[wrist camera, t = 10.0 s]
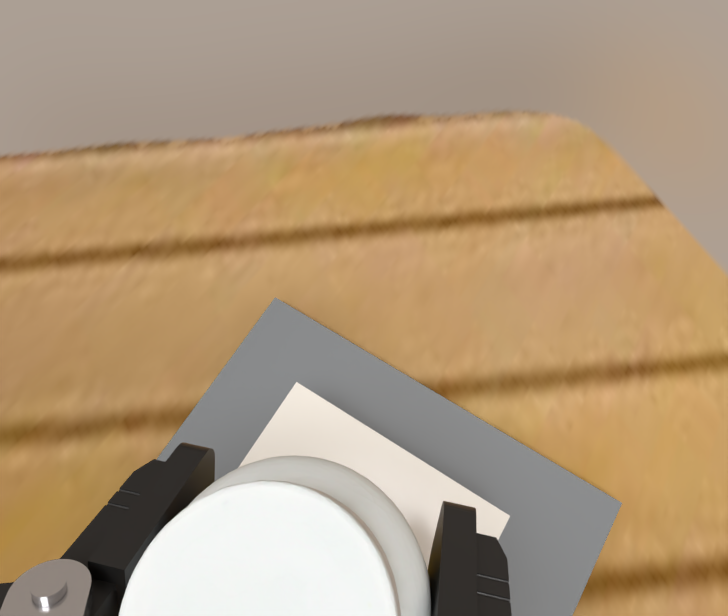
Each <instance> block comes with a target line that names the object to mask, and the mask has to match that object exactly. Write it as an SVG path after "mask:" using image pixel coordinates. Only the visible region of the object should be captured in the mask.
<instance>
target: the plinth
mask: <svg viewBox="0 0 728 616" xmlns="http://www.w3.org/2000/svg"><path fill="white" fill-rule="evenodd" d="M292 455H297V456H311V457H316V458H321V459H326V460H329V461H333V462H336V463H339V464H341V465H344V466H346V467H348V468H350V469H352V470H354V471H356V472H357V473H359V474H361V475H363V476H364V477H366V478H367V479H369V480H370V481H371V482H373V483H374V484H375V485H376V486H377V487H379V488H380V489H381V490H382V491H383V492H384V493H385V494H386V495H387V496H388V497H389V498H390V499H391V500H392V501H393V502H394V504H395V505H396V506H397V507H398V509H399V510H400V511H401V513H402V514H403V516H404V517H405V519H406V520H407V522H408V524H409V525H410V527H411V529H412V530H413V533H414V535H415V537H416V539H417V541H418V544H419V546H420V549H421V552H422V555H423V557H424V560H425V563H426V567H427V570H428V565H429V559H430V553H431V548H432V544H433V540H434V536H435V531H436V527H437V523H438V519H439V514H440V510H441V506H442V503H443V501H447V502H452V503H456V504H461V505H465V506H470V507H474V508H476V530H477V533H479V534H483V535H488V536H492V537H496V538H497V540H498V539H499V537H500V535H501V533H502V531H503V529H504V527H505V525H506V523H507V521H508V519H509V518H510V516H509V515H508V514H506V513H505V512H503V511H501V510H500V509H498V508H497V507H495V506H494V505H492V504H490V503H489V502H487V501H486V500H484V499H482V498H481V497H479V496H478V495H476V494H474V493H473V492H471V491H470V490H468V489H466V488H465V487H463V486H462V485H460V484H458V483H457V482H455V481H454V480H452V479H450V478H449V477H447V476H446V475H444V474H443V473H441V472H439V471H438V470H436V469H435V468H433V467H431V466H430V465H428V464H427V463H425V462H423V461H422V460H420V459H419V458H417V457H415V456H414V455H412V454H411V453H409V452H407V451H406V450H404V449H403V448H401V447H399V446H398V445H396V444H395V443H393V442H392V441H390V440H388V439H387V438H385V437H384V436H382V435H380V434H379V433H377V432H376V431H374V430H372V429H371V428H369V427H368V426H366V425H364V424H363V423H361V422H360V421H358V420H356V419H355V418H353V417H352V416H350V415H348V414H347V413H345V412H344V411H342V410H341V409H339V408H337V407H336V406H334V405H333V404H331V403H329V402H328V401H326V400H325V399H323V398H321V397H320V396H318V395H317V394H315V393H313V392H312V391H310V390H309V389H307V388H305V387H304V386H302V385H301V384H299V383H298V382H296V383H295V385H294V386H293V388H292V389H291V391H290V392H289V394H288V395H287V397H286V398H285V400H284V401H283V402H282V404H281V405H280V407H279V408H278V410H277V411H276V413H275V414H274V416H273V417H272V419H271V420H270V422H269V423H268V425H267V426H266V428H265V429H264V430H263V432H262V433H261V435H260V436H259V438H258V439H257V441H256V442H255V444H254V445H253V447H252V448H251V450H250V451H249V453H248V454H247V455H246V457H245V458H244V460H243V461H242V463H241V464H240V466H239V467H242V466H244V465H247V464H249V463H252V462H255V461H258V460H263V459H267V458H271V457H278V456H292ZM239 467H238V468H239Z"/></svg>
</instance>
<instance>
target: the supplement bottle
mask: <svg viewBox="0 0 728 616" xmlns="http://www.w3.org/2000/svg"><path fill="white" fill-rule="evenodd" d="M119 616H431V595H430V583H429V574H428V570H427V567H426V563H425V560H424V557H423V555H422V552H421V549H420V546H419V544H418V541H417V539H416V537H415V535H414V533H413V530H412V529H411V527H410V525H409V524H408V522H407V520H406V519H405V517H404V516H403V514H402V513H401V511H400V510H399V509H398V507H397V506H396V505H395V504H394V502H393V501H392V500H391V499H390V498H389V497H388V496H387V495H386V494H385V493H384V492H383V491H382V490H381V489H380V488H379V487H377V486H376V485H375V484H374V483H373V482H371V481H370V480H369V479H367V478H366V477H364V476H363V475H361V474H359V473H357V472H356V471H354V470H352V469H350V468H348V467H346V466H344V465H341V464H339V463H336V462H333V461H329V460H326V459H321V458H316V457H311V456H297V455H292V456H278V457H271V458H267V459H263V460H258V461H255V462H252V463H249V464H247V465H244V466H242V467H239V468H237V469H235V470H233V471H231V472H229V473H227V474H226V475H224V476H223V477H221V478H219V479H218V480H216V481H215V482H214V483H212V484H211V485H210V486H208V487H207V488H206V489H205V490H204V491H202V492H201V493H200V494H199V495H198V496H197V497H196V498H195V499H194V500H193V501H192V502H191V503H190V504H189V505H188V506H187V507H186V508H185V509H183V510H182V511H181V512H180V513H179V514H177V515H176V516H175V517H174V518H173V519H172V520H171V521H170V522H168V523H167V524H166V525H165V526H164V528H163V529H162V530H161V531H160V532H159V533H158V534H157V535H156V537H155V538H154V539H153V541H152V542H151V543H150V544H149V546H148V547H147V549H146V550H145V552H144V554H143V555H142V557H141V559H140V560H139V562H138V564H137V565H136V567H135V569H134V571H133V573H132V576H131V578H130V580H129V583H128V585H127V588H126V591H125V594H124V597H123V600H122V603H121V607H120V611H119Z"/></svg>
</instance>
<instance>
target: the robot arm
mask: <svg viewBox="0 0 728 616" xmlns="http://www.w3.org/2000/svg"><path fill="white" fill-rule="evenodd" d="M214 482H215V452H214V450H213V449H212V448H207V447H202V446H198V445H193V444H189V443H184V442H182V443H180V444H179V445H178V446H177V448H176V449H175V450H174V451H173V453H172V454H171V455H170V456H169V458H168V459H167V460H166V462H165V461H160V460H156V459H154V460H152V461H150V462H149V463H147V464H146V465H144V466H142V467H141V468H139V469H137V470H136V471H134V472H133V473H132V474H131V476H130V477H129V478H128V479H127V480H126V482H125V483H124V484H123V485H122V486H121V487H120V490H119V492H116V493H115V495H114V496H113V497H112V498H111V499H110V500H109V502H108V505H107V506H106V505H105V506H104V508H103V509H102V510H101V511H100V512H99V513H98V515H97V516H96V517H95V518H94V519H93V521H92V522H91V523H90V524H89V525H88V526H87V528H86V529H85V530H84V531H83V532H82V533H81V535H80V536H79V537H78V538H77V539H76V541H75V542H74V543H73V544H72V545H71V546H70V548H69V549H68V550H67V551H66V552H65V554H64V555H63V556H62V557H61V558H60V559H57V560H51V561H47V562H44V563H41V564H39V565H37V566H35V567H33V568H31V569H29V570H28V571H26V572H25V573H23V574H22V575H21V576H20V577H19V578H18V579H17V580H16V581H15V582H12V583H2V584H0V616H119V611H120V607H121V603H122V600H123V597H124V594H125V591H126V588H127V585H128V583H129V580H130V578H131V576H132V573H133V571H134V569H135V567H136V565H137V564H138V562H139V560H140V559H141V557H142V555H143V554H144V552H145V550H146V549H147V547H148V546H149V544H150V543H151V542H152V541H153V539H154V538H155V537H156V535H157V534H158V533H159V532H160V531H161V530H162V529H163V528H164V526H165V525H166V524H167V523H168V522H170V521H171V520H172V519H173V518H174V517H175V516H176V515H177V514H179V513H180V512H181V511H182V510H183V509H185V508H186V507H187V506H188V505H189V504H190V503H191V502H192V501H193V500H194V499H195V498H196V497H197V496H198V495H199V494H200V493H201V492H202V491H204V490H205V489H206V488H207V487H208V486H210V485H211V484H212V483H214ZM428 574H429V583H430V595H431V616H512V614H511V603H510V587H509V574H508V561H507V557H506V555H505V553H504V551H503V549H502V547H501V545H500V544H499V542H498V540H497V538H496V537H492V536H488V535H483V534H479V533H477V530H476V508H474V507H470V506H465V505H461V504H456V503H452V502H447V501H443V503H442V506H441V510H440V514H439V519H438V523H437V527H436V531H435V536H434V540H433V544H432V548H431V553H430V559H429V565H428Z"/></svg>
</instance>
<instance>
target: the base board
mask: <svg viewBox="0 0 728 616" xmlns="http://www.w3.org/2000/svg"><path fill="white" fill-rule="evenodd" d="M296 382H298V383H299V384H301V385H302V386H304V387H305V388H307V389H309V390H310V391H312V392H313V393H315V394H317V395H318V396H320V397H321V398H323V399H325V400H326V401H328V402H329V403H331V404H333V405H334V406H336V407H337V408H339V409H341V410H342V411H344V412H345V413H347V414H348V415H350V416H352V417H353V418H355V419H356V420H358V421H360V422H361V423H363V424H364V425H366V426H368V427H369V428H371V429H372V430H374V431H376V432H377V433H379V434H380V435H382V436H384V437H385V438H387V439H388V440H390V441H392V442H393V443H395V444H396V445H398V446H399V447H401V448H403V449H404V450H406V451H407V452H409V453H411V454H412V455H414V456H415V457H417V458H419V459H420V460H422V461H423V462H425V463H427V464H428V465H430V466H431V467H433V468H435V469H436V470H438V471H439V472H441V473H443V474H444V475H446V476H447V477H449V478H450V479H452V480H454V481H455V482H457V483H458V484H460V485H462V486H463V487H465V488H466V489H468V490H470V491H471V492H473V493H474V494H476V495H478V496H479V497H481V498H482V499H484V500H486V501H487V502H489V503H490V504H492V505H494V506H495V507H497V508H498V509H500V510H501V511H503V512H505V513H506V514H508V515H509V516H510V518H509V519H508V521H507V523H506V525H505V527H504V529H503V531H502V533H501V535H500V537H499V539H498V542H499V544H500V545H501V547H502V549H503V551H504V553H505V555H506V557H507V561H508V574H509V587H510V603H511V614H512V616H572V615H573V613H574V611H575V609H576V606H577V604H578V602H579V599H580V597H581V595H582V593H583V590H584V588H585V586H586V584H587V581H588V579H589V577H590V575H591V572H592V570H593V568H594V565H595V563H596V561H597V559H598V556H599V554H600V552H601V550H602V547H603V545H604V543H605V541H606V538H607V536H608V534H609V532H610V529H611V527H612V525H613V522H614V520H615V518H616V516H617V513H618V511H619V509H620V507H621V504H622V503H621V502H619V501H618V500H616V499H614V498H613V497H611V496H609V495H607V494H606V493H604V492H602V491H601V490H599V489H597V488H596V487H594V486H592V485H591V484H589V483H587V482H586V481H584V480H582V479H580V478H579V477H577V476H575V475H574V474H572V473H570V472H569V471H567V470H565V469H564V468H562V467H560V466H559V465H557V464H555V463H553V462H552V461H550V460H548V459H547V458H545V457H543V456H542V455H540V454H538V453H537V452H535V451H533V450H532V449H530V448H528V447H527V446H525V445H523V444H521V443H520V442H518V441H516V440H515V439H513V438H511V437H510V436H508V435H506V434H505V433H503V432H501V431H500V430H498V429H496V428H494V427H493V426H491V425H489V424H488V423H486V422H484V421H483V420H481V419H479V418H478V417H476V416H474V415H473V414H471V413H469V412H467V411H466V410H464V409H462V408H461V407H459V406H457V405H456V404H454V403H452V402H451V401H449V400H447V399H446V398H444V397H442V396H441V395H439V394H437V393H435V392H434V391H432V390H430V389H429V388H427V387H425V386H424V385H422V384H420V383H419V382H417V381H415V380H414V379H412V378H410V377H408V376H407V375H405V374H403V373H402V372H400V371H398V370H397V369H395V368H393V367H392V366H390V365H388V364H387V363H385V362H383V361H381V360H380V359H378V358H376V357H375V356H373V355H371V354H370V353H368V352H366V351H365V350H363V349H361V348H360V347H358V346H356V345H355V344H353V343H351V342H349V341H348V340H346V339H344V338H343V337H341V336H339V335H338V334H336V333H334V332H333V331H331V330H329V329H328V328H326V327H324V326H322V325H321V324H319V323H317V322H316V321H314V320H312V319H311V318H309V317H307V316H306V315H304V314H302V313H301V312H299V311H297V310H295V309H294V308H292V307H290V306H289V305H287V304H285V303H284V302H282V301H280V300H279V299H277V298H274V300H273V301H272V302H271V304H270V305H269V307H268V308H267V309H266V311H265V312H264V313H263V315H262V316H261V318H260V319H259V320H258V322H257V323H256V324H255V326H254V327H253V328H252V330H251V331H250V333H249V334H248V335H247V337H246V338H245V339H244V341H243V342H242V343H241V345H240V346H239V348H238V349H237V350H236V352H235V353H234V354H233V356H232V357H231V358H230V360H229V361H228V363H227V364H226V365H225V367H224V368H223V369H222V371H221V372H220V374H219V375H218V376H217V378H216V379H215V380H214V382H213V383H212V384H211V386H210V387H209V389H208V390H207V391H206V393H205V394H204V395H203V397H202V398H201V399H200V401H199V402H198V404H197V405H196V406H195V408H194V409H193V410H192V412H191V413H190V414H189V416H188V417H187V419H186V420H185V421H184V423H183V424H182V425H181V427H180V428H179V430H178V431H177V432H176V434H175V435H174V436H173V438H172V439H171V440H170V442H169V443H168V445H167V446H166V447H165V449H164V450H163V451H162V453H161V454H160V455H159V457H158V458H157V460H160V461H165V462H166V460H167V459H168V458H169V456H170V455H171V454H172V453H173V451H174V450H175V449H176V448H177V446H178V445H179V444H180V443H182V442H184V443H189V444H193V445H198V446H202V447H207V448H212V449H213V450H214V452H215V481H216V480H218V479H219V478H221V477H223V476H224V475H226V474H227V473H229V472H231V471H233V470H235V469H237V468H238V467H239V466H240V464H241V463H242V461H243V460H244V458H245V457H246V455H247V454H248V453H249V451H250V450H251V448H252V447H253V445H254V444H255V442H256V441H257V439H258V438H259V436H260V435H261V433H262V432H263V430H264V429H265V428H266V426H267V425H268V423H269V422H270V420H271V419H272V417H273V416H274V414H275V413H276V411H277V410H278V408H279V407H280V405H281V404H282V402H283V401H284V400H285V398H286V397H287V395H288V394H289V392H290V391H291V389H292V388H293V386H294V385H295V383H296Z"/></svg>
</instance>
